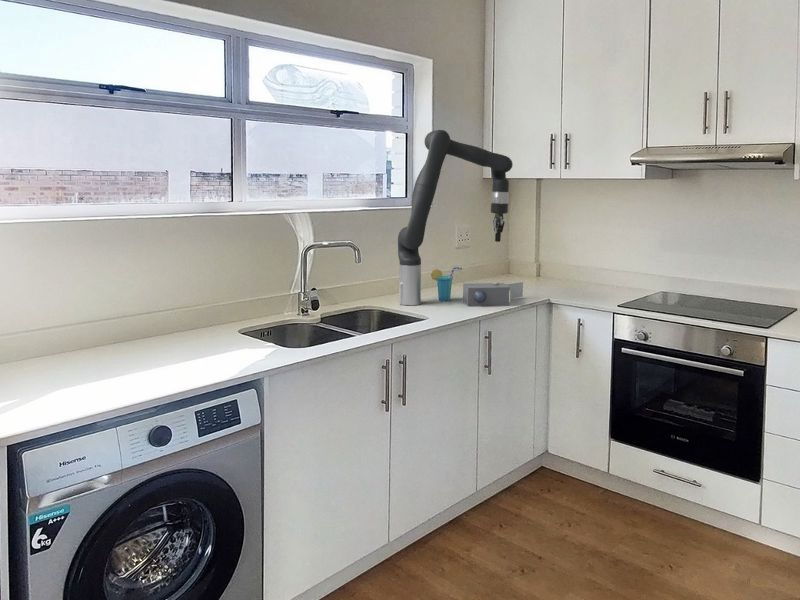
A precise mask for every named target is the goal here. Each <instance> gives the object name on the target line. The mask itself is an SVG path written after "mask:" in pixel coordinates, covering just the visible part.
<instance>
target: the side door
mask: <svg viewBox="0 0 800 600" xmlns="http://www.w3.org/2000/svg"><path fill="white" fill-rule="evenodd" d="M505 284H506V285H507V286H509V287H510V300H513V299H518V298H523V296H524V282H523V281H517V282H509V283H505Z"/></svg>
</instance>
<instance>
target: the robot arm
mask: <svg viewBox="0 0 800 600" xmlns="http://www.w3.org/2000/svg"><path fill="white" fill-rule="evenodd" d="M424 145H425V148H426V149H427V150H428V152H427V156H426V159H425V162H424V164H423V167H422V168H421V170H420V171H419V174H418V175H417V178H416V179H415V183H414V186H413V190H412V195H411V213H410V218H409V221H408V224H407V226H405V227H402V228H401V229H400V231H399V232H398V235H397V256H398V259H399V282H398V303H399V305H402V306H418V305H421V304H422V296H421V295H422V292H421V291H422V288H421V287H422V285H421V284H422V258H421V255H420V253H419V249H420V247H421V246H422V244H423V242H424V237H425V232H426V226H427V221H428V217H429V214H430V211H431V207H432V204H433V201H434V198H435V194H436V191H437V188H438V187H437V186H438V182H439V179H440V175H441V171H442V167H443V164H444V162H445V159H446V156H447V155H448V156H452V157H456V158H459V159H462V160H463V161H467V162H470V163H472V164H475V165H477V166H480V167H485V168H490V172H491V179H492V189H491V191H492V192H491V197H490V198H491V199H490V213H491V214H494V217H493V220H492V223H493V225H492V226H493V231H494V234H495V235H494V242H498V243H500V242H501V238H502V237H501V236H502V235H501V234H502V233H503V231H504V226H505V223H506V222H505V218H504V215H505V214H506V215H507V214H508V213H509V200H510V199H509V187H510V184H509V183H510V181H509V179H508V178H507V176H506V173H507V172H510V171H511V170H512V168H513V161H512V159H511V158H510V157H509V156H507V155H504V154H500V153H495V152H492V151H489V150H487V149H484V148H481V147H479V146H475V145H472V144H467V143H462V142H459V141H456V140H453V139H451V136H450V134H449V133H448V131H446V130H444V129H437V130H436V129H435V130H431V131H430V132H429V133H427V134H426V135H425V138H424Z"/></svg>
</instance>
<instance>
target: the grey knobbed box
mask: <svg viewBox="0 0 800 600" xmlns="http://www.w3.org/2000/svg"><path fill="white" fill-rule="evenodd" d="M506 284H507V283H504V282H498V281H494V282H483V283H482V282H480V283H479V282H475V283H473V282H472V283H471V282H469V283H468V282H467V283H462V302H463V303H464V304H465V305H466V306H467V307H493V306H494V307H503V306H504V307H505V306H507V307H508V306H510V303H511V299H510V287H509V286H507V285H506Z"/></svg>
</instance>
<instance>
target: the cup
mask: <svg viewBox="0 0 800 600" xmlns="http://www.w3.org/2000/svg"><path fill="white" fill-rule="evenodd" d="M455 270H462V267H459V266H454V267H452V270H451V272H450V275H443V273H442V271H441V270H440V269H437V268H436V269H435V268H434V269H433V270H432V271H431V273H430V277H431V278H432V280H435V281H436V282H437V284H436V285H437V295H438V296H437V297H438V302H450V301H451V294H452V284H453V280H454V276H453V275H454V271H455Z"/></svg>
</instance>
